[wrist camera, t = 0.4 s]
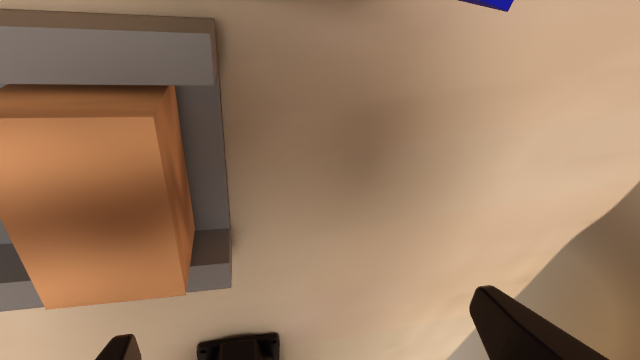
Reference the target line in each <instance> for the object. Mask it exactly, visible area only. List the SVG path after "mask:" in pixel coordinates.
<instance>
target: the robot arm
mask: <svg viewBox="0 0 640 360" xmlns="http://www.w3.org/2000/svg"><path fill="white" fill-rule="evenodd" d="M469 309H470V314H471V317H472V319H473V322H474V324H475V326H476V329H477V331H478V333H479V335H480V338H481V340H482V343H483V345H484V347H485V349H486V352H487V354H488V356H489V359H490V360H609V359H607V358H606V357H604V356H603V355H601V354H600V353H598V352H596V351H595V350H593V349H592V348H590V347H588V346H587V345H585V344H584V343H582V342H581V341H579V340H577V339H576V338H574V337H573V336H571V335H570V334H568V333H566V332H565V331H563V330H562V329H560V328H559V327H557V326H555V325H554V324H552V323H551V322H549V321H548V320H546V319H544V318H543V317H541V316H539V315H538V314H537V313H535V312H533V311H532V310H530V309H529V308H527V307H525V306H524V305H522V304H521V303H519V302H518V301H516V300H515V299H513V298H511V297H510V296H508V295H507V294H505V293H503V292H502V291H500V290H499V289H497V288H496V287H494V286H491V285H487V286H480V287H478V288H477V289H476V290H475V293H474V295H473V298H472V301H471V303H470V308H469ZM279 346H280V340H279V335H277V334H269V335H261V336H254V337H246V338H238V339H231V340H223V341H215V342H208V343H202V344H199V345H198V346H197V357H198V360H279ZM95 360H141V353H140V350H139V347H138V344H137V341H136V338H135V336H134V335H133V334H126V335H119V336H115V337H114V338H112V339H111V340H110V342H109V343H108V344H107V345H106V347H105V348H104V349H103V350H102V352H101V353H100V354H99V355H98V356H97V358H96V359H95Z"/></svg>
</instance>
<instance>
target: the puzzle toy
mask: <svg viewBox="0 0 640 360" xmlns="http://www.w3.org/2000/svg"><path fill="white" fill-rule="evenodd" d="M459 1H463V2H468V3H472V4H476V5H480V6H485V7H489V8H493V9H498V10H502V11H506V12H508V10H509V8H510V6H511V4H512V2H513V1H514V0H459Z"/></svg>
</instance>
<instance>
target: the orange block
mask: <svg viewBox="0 0 640 360" xmlns="http://www.w3.org/2000/svg"><path fill="white" fill-rule="evenodd" d="M0 219H1V221H2V223H3V225H4V227H5V229H6V231H7V233H8V235H9V237H10V239H11V241H12V243H13V245H14V247H15V249H16V251H17V253H18V255H19V257H20V259H21V261H22V263H23V265H24V267H25V269H26V271H27V273H28V275H29V277H30V279H31V281H32V283H33V285H34V287H35V289H36V291H37V293H38V295H39V297H40V299H41V301H42V303H43V305H44V307H45V309H56V308H65V307H75V306H85V305H94V304H104V303H113V302H123V301H133V300H142V299H152V298H161V297H171V296H180V295H186V291H187V284H188V276H189V269H190V262H191V255H192V247H193V240H194V233H195V225H194V218H193V211H192V204H191V197H190V190H189V183H188V176H187V169H186V162H185V155H184V148H183V141H182V134H181V127H180V120H179V113H178V106H177V99H176V92H175V85H76V84H7V85H5V86H4V87H2V88H0Z"/></svg>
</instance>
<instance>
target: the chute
mask: <svg viewBox="0 0 640 360" xmlns="http://www.w3.org/2000/svg"><path fill="white" fill-rule="evenodd" d="M7 84H76V85H175V92H176V99H177V106H178V113H179V120H180V127H181V134H182V141H183V148H184V155H185V162H186V169H187V176H188V183H189V190H190V197H191V204H192V211H193V218H194V225H195V233H194V240H193V247H192V255H191V262H190V269H189V276H188V284H187V291H186V292H196V291H205V290H215V289H225V288H231V279H232V243H231V230H230V217H229V204H228V190H227V177H226V164H225V151H224V138H223V125H222V112H221V99H220V86H219V73H218V60H217V47H216V34H215V21H214V18H193V17H171V16H148V15H126V14H104V13H82V12H59V11H37V10H15V9H0V88H2V87H4V86H5V85H7ZM40 307H44V305H43V303H42V301H41V299H40V297H39V295H38V293H37V291H36V289H35V287H34V285H33V283H32V281H31V279H30V277H29V275H28V273H27V271H26V269H25V267H24V265H23V263H22V261H21V259H20V257H19V255H18V253H17V251H16V249H15V247H14V245H13V243H12V241H11V239H10V237H9V235H8V233H7V231H6V229H5V227H4V225H3V223H2V221H1V219H0V312H1V311H11V310H21V309H30V308H40Z"/></svg>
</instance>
